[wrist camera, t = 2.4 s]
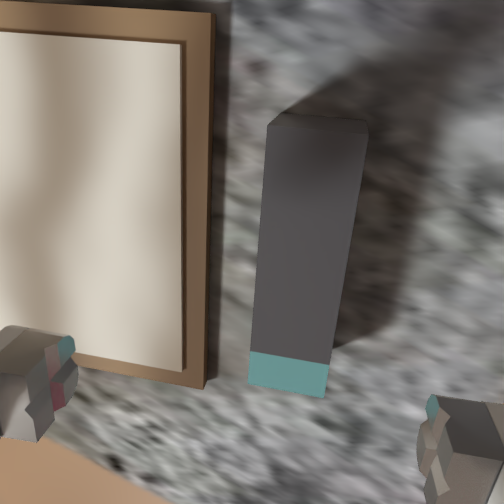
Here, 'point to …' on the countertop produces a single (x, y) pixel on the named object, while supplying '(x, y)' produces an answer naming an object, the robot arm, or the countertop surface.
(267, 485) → the countertop surface
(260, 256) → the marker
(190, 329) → the board
